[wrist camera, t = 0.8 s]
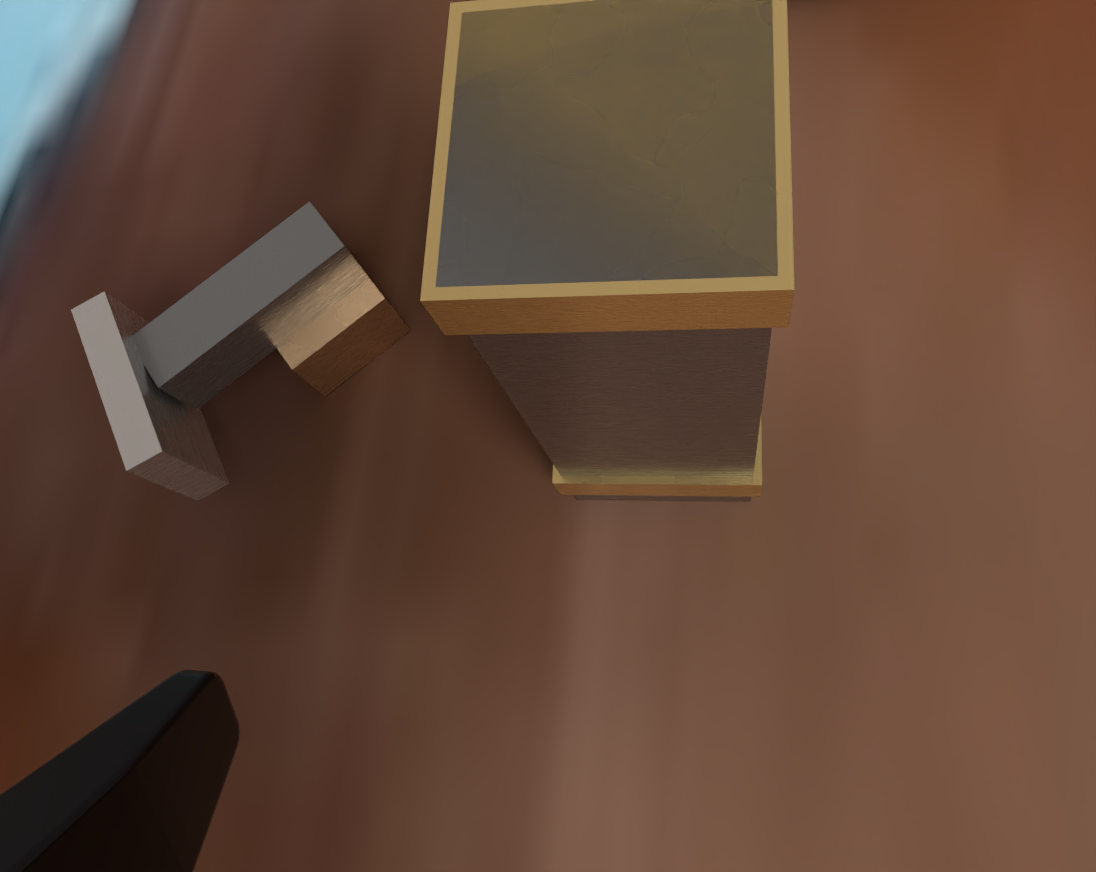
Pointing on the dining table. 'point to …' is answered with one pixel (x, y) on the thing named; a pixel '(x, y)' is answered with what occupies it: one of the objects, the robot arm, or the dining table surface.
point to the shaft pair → (231, 345)
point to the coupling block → (619, 230)
